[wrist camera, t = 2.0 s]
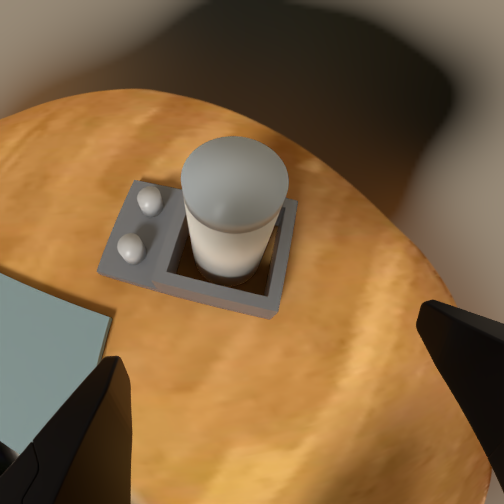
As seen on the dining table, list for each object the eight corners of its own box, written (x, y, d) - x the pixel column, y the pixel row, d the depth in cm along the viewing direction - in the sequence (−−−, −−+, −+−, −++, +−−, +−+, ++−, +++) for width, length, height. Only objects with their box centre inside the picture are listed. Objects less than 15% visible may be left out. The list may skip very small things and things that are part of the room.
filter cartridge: (266, 232, 24) (295, 149, 15) (252, 293, 22) (279, 236, 13) (204, 218, 24) (200, 128, 15) (186, 277, 22) (165, 209, 13)
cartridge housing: (289, 219, 25) (298, 201, 22) (270, 319, 22) (278, 312, 19) (136, 185, 24) (128, 164, 22) (100, 274, 21) (85, 261, 19)
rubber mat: (112, 318, 20) (109, 317, 20) (78, 483, 15) (75, 485, 14) (-10, 268, 20) (-13, 266, 19) (-39, 406, 15) (-43, 406, 14)
